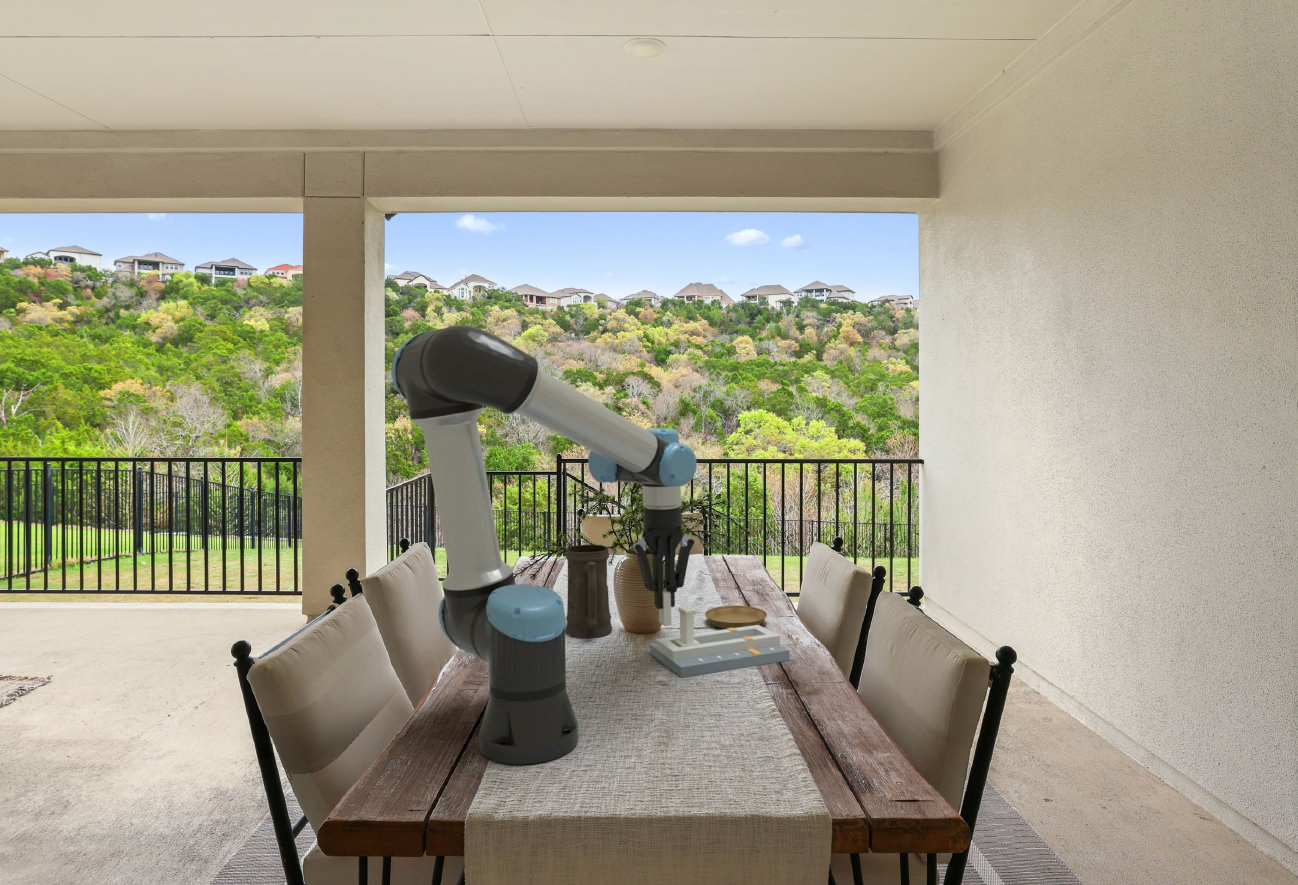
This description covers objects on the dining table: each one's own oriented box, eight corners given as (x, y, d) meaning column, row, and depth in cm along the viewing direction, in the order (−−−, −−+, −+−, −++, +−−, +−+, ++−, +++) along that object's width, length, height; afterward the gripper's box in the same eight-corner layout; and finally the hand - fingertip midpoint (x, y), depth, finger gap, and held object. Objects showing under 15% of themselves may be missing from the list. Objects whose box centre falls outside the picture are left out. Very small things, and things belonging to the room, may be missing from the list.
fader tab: (700, 652, 152) (699, 610, 151) (682, 654, 150) (681, 612, 150) (692, 646, 156) (691, 605, 155) (674, 649, 154) (673, 607, 154)
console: (789, 659, 153) (789, 639, 153) (681, 677, 144) (681, 655, 144) (750, 638, 168) (749, 619, 167) (649, 653, 159) (649, 633, 158)
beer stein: (559, 627, 179) (559, 544, 177) (603, 622, 182) (603, 540, 180) (577, 650, 164) (576, 560, 162) (623, 644, 168) (623, 556, 166)
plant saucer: (778, 629, 175) (778, 618, 175) (719, 636, 171) (719, 624, 170) (750, 613, 189) (750, 603, 189) (695, 619, 185) (695, 608, 184)
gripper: (684, 501, 156) (687, 614, 157) (624, 506, 151) (628, 623, 152) (700, 506, 149) (702, 624, 150) (638, 511, 144) (641, 633, 145)
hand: (665, 623), depth 151 cm, fingers closed
